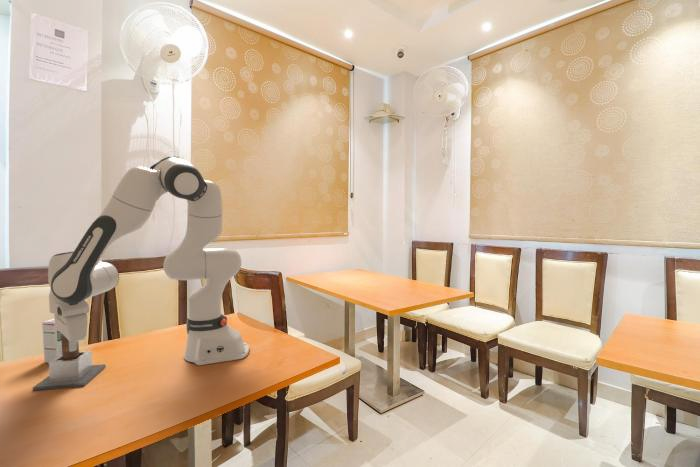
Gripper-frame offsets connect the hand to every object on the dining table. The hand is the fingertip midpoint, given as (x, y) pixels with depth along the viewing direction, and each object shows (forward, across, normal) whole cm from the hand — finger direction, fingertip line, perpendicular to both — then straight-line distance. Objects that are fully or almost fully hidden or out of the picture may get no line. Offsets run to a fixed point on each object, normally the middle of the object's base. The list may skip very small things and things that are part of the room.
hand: (70, 348), depth 105 cm
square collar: (+10, -1, 0) cm, 10 cm away
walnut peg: (+5, 0, 0) cm, 5 cm away
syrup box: (+10, -21, +1) cm, 23 cm away
